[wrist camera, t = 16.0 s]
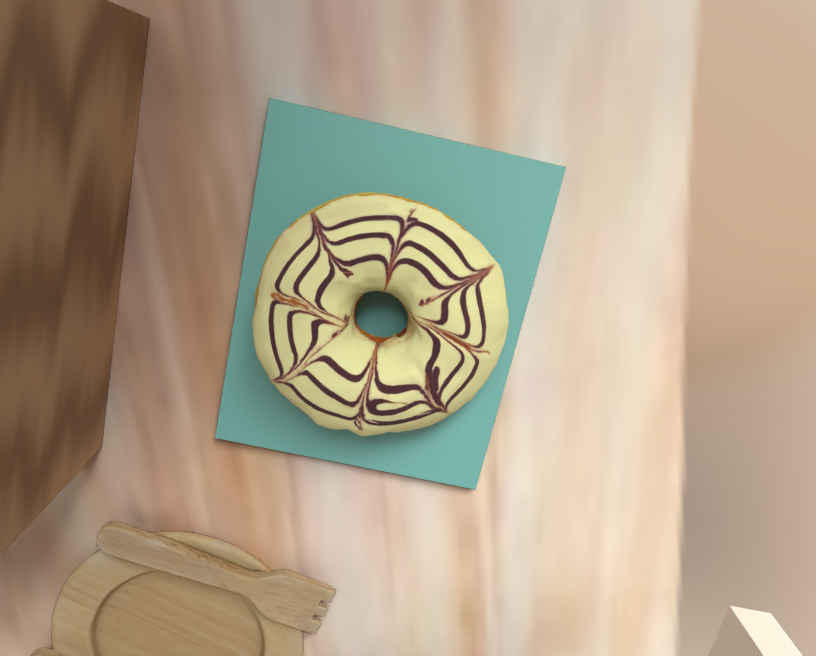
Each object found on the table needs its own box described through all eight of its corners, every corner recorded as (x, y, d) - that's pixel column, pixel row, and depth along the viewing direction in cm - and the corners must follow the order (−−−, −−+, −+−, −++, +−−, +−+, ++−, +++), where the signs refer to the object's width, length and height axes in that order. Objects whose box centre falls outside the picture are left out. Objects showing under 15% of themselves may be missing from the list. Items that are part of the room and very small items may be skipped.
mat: (272, 98, 30) (269, 97, 29) (562, 166, 31) (565, 167, 30) (218, 432, 34) (214, 437, 33) (474, 483, 35) (475, 489, 34)
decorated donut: (461, 435, 34) (468, 472, 30) (243, 381, 33) (224, 413, 29) (527, 227, 31) (544, 241, 27) (291, 163, 30) (276, 168, 26)
